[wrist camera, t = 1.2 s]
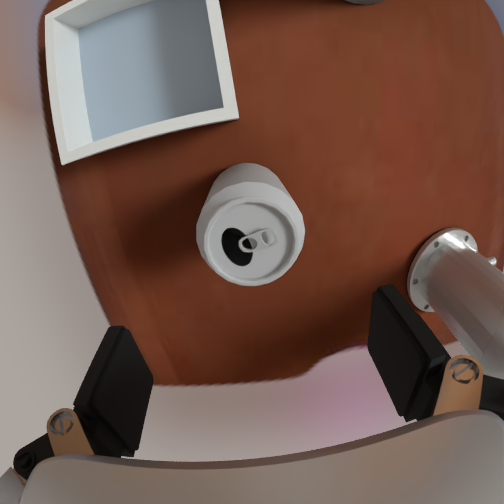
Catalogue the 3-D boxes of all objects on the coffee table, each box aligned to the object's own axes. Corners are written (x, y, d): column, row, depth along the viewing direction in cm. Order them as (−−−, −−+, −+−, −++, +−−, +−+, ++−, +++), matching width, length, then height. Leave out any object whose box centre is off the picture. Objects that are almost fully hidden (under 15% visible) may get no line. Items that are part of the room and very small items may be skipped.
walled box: (215, -18, 19) (210, -45, 14) (239, 119, 26) (238, 117, 21) (73, 27, 20) (45, 15, 14) (90, 155, 27) (61, 165, 21)
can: (197, 180, 28) (171, 217, 18) (267, 150, 28) (286, 167, 17) (228, 243, 31) (223, 310, 21) (294, 216, 31) (324, 272, 20)
